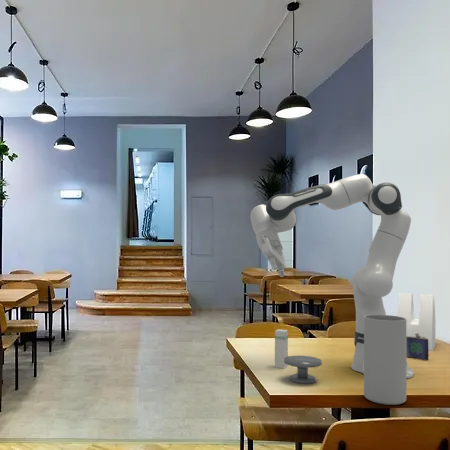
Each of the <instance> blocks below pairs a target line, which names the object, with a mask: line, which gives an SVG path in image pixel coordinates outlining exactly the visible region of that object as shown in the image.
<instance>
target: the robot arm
mask: <svg viewBox="0 0 450 450" xmlns="http://www.w3.org/2000/svg"><path fill="white" fill-rule="evenodd" d="M360 202H361V203H362V204H363V205H364V206H365V207H366V208H367V210H368V211H369V212H370V213H372V214H373V215H376V216H380V224H379V226H378V228H377V230H376V233H375V234H374V237H373V240H372V242H371V244H370V247H369V248H368V257H367V261H366V265H365V266H364V267H360V268H358V269H356V270H355V271H354V272H353V274H352V276H351V284H352V292H353V299H354V306H355V331H354V336H353V337H354V338H353V339H354V340H353V341H354V342H353V343H354V346H355V347H354V353H353V359H352V363H351V367H350V368H351V369H352V370H353V371H356V372H359V373H362V374H363V375H364V316H366V315H387V312H386V309H385V305H384V300H383V298H384V297H386V296H388V295H389V294H390V293H391V292H392V289H393V285H394V283H393V282H394V281H393V279H394V275H395V270H396V266H397V261H398V260H399V257H400V254H401V252H402V249H403V247H404V245H405V242H406V241H407V237H408V234H409V231H410V228H411V227H410V226H411V222H412V218H411V216H410V214H409V213H408V212H407V211H406V210H403V209H402V208H403V203H402V194H401V192H400V189H399V188H398V186H397V185H395V184H394V183H391V182H382V183H379V184H377V185H375V184H373V183H372V181H371V178H369V176H367V175H365V174H364V173H358V174H354V175H350V176H346V177H344V178H341V179H339V180H335V181H333V182H329V183H326V184H317V185H314V186H310V187H306V188H304V189H303V188H302V189H300V190H296V191H293V192H290V193H277V194H275V195H273V196H271V197H270V198H269V199H268V201H266V204H264V203H263V204H259V205H256V206H255V207H253V208H252V209H251V211H250V222H251V226H252V230H253V231H254V233H255V239H256V242H257V245H258V248H259V250H260V251H261V252H262V255H263V257H264V258H266V259H267V261H268V262H269V264H270V265H271V269H272V270H273V271H276V270H277V271H278V276H279V277H280V278H283V277H285V272H284V271H285V270H284V269H286V267H287V266H286V265H287V264H286V259H285V255H284V252H283V250H284V249H283V245H282V243H281V240H280V237H279V233H283V232H287V231H290V230H292V229H293V228H294V227H295V225H296V224H297V215H296V212H295V210H296V209H298V208H302V207H305V206H308V205H312V204H316V203H318V204H322V205H324V206H325V207H326V208H328V209H330V210H334V211H335V210H336V211H337V210H341V209H344V208H347V207H349V206H352V205H354V204H356V203H360ZM414 375H415V374H414V369H412V367H409V365H408V361H407V359H406V379H411V378H412V377H413V376H414Z"/></svg>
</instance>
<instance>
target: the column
mask: <svg viewBox="0 0 450 450" xmlns="http://www.w3.org/2000/svg"><path fill="white" fill-rule="evenodd" d="M288 345H289V329H281V328H279V329H276V330H275V331H274V368H276V369H287V367H288V366H289V365H287V364H285V363H284V358H285V357H288V355H289V354H288V353H289V348H288V347H289V346H288Z"/></svg>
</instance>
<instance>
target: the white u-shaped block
mask: <svg viewBox="0 0 450 450" xmlns="http://www.w3.org/2000/svg"><path fill="white" fill-rule="evenodd" d="M398 296H399V297H398V306H397V315H396V316H398V317H403V318H406V319H407V327H406V336H413V337H416V335H415V334H416V333H419V334H418V335H420V336H421V337H422V338H423V337H425V338H427V339H428V352H433V349H434V348H435V346H436V309H435V308H436V306H435V294H429V293H428V294H427V293H420V299H419V312H418V318H415V307H414V294H413V293H412V292H399V295H398Z"/></svg>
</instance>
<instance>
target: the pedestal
mask: <svg viewBox="0 0 450 450" xmlns="http://www.w3.org/2000/svg"><path fill="white" fill-rule="evenodd" d="M284 363H285V364H287V365H288V366H291V367H295V368H297V371H296V372H297V373H293V374H291V375H290V376H289V381H290V382H292V383H295V384H301V385H309V384H314V383H316V382H317V381H316V377H315V376H314V375H312V374H309V368H310V369H311V368H318V367H321V366H322V365H323V364H322V360H321V359H320V358H318V357H315V356H309V355H290V356H288V357H285V358H284Z"/></svg>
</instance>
